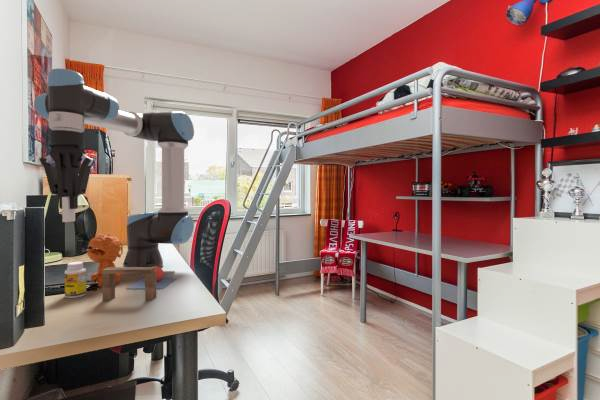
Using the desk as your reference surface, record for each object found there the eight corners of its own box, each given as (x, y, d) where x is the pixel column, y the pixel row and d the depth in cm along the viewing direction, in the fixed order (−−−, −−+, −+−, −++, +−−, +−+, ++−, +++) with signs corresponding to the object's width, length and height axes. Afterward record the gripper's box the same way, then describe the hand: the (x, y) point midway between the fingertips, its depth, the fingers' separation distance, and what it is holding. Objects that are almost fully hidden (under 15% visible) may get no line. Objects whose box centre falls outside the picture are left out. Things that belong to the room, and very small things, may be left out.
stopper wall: (148, 277, 120) (148, 271, 120) (175, 277, 120) (175, 271, 120) (146, 278, 118) (146, 272, 118) (173, 278, 118) (173, 272, 118)
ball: (151, 277, 118) (149, 263, 116) (166, 277, 118) (165, 263, 116) (144, 284, 112) (142, 270, 111) (160, 284, 112) (158, 270, 111)
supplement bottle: (60, 297, 98) (59, 264, 97) (78, 292, 103) (78, 260, 102) (72, 299, 96) (72, 265, 95) (91, 294, 101) (90, 261, 100)
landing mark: (143, 279, 118) (143, 278, 118) (176, 278, 118) (176, 278, 118) (126, 289, 106) (126, 288, 106) (162, 289, 106) (162, 288, 106)
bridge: (108, 297, 98) (107, 267, 98) (156, 297, 98) (156, 267, 98) (102, 300, 95) (102, 269, 95) (152, 300, 95) (151, 269, 95)
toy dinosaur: (90, 282, 114) (89, 231, 114) (124, 278, 118) (124, 230, 118) (83, 291, 104) (81, 235, 103) (121, 287, 108) (120, 233, 108)
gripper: (30, 128, 80) (32, 222, 81) (83, 128, 80) (84, 222, 81) (52, 133, 88) (54, 220, 88) (101, 134, 88) (102, 220, 88)
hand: (68, 221), depth 85 cm, fingers closed
